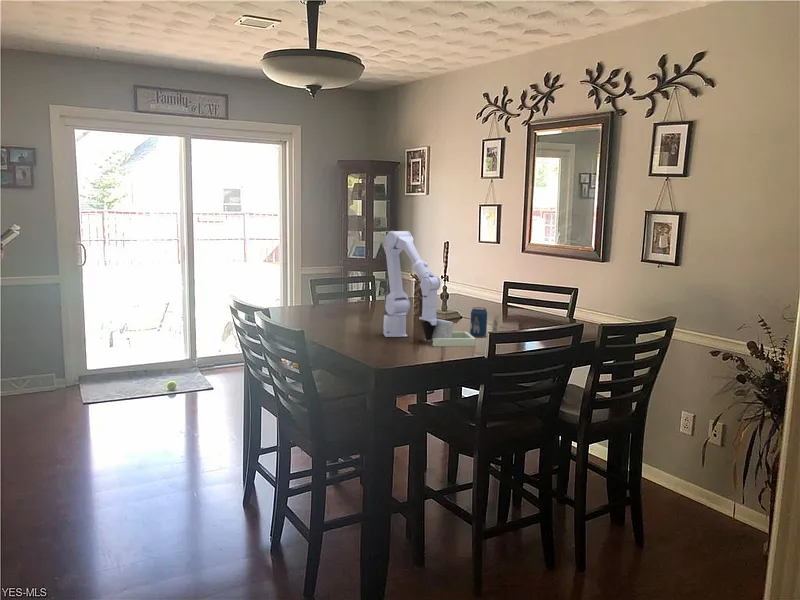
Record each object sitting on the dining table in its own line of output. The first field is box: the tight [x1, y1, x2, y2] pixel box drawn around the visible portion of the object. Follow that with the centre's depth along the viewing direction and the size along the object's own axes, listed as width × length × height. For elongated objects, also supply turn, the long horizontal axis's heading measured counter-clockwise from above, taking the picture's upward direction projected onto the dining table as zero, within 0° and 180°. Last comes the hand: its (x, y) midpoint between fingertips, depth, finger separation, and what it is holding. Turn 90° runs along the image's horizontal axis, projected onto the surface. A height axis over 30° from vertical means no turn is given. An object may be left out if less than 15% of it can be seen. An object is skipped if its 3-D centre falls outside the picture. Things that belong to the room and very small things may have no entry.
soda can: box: [469, 306, 488, 338], centre depth 272 cm, size 7×7×12 cm
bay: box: [432, 331, 477, 348], centre depth 258 cm, size 17×14×3 cm
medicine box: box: [430, 318, 454, 341], centre depth 258 cm, size 8×4×9 cm, turn 42°
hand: (428, 339), depth 257 cm, fingers closed
